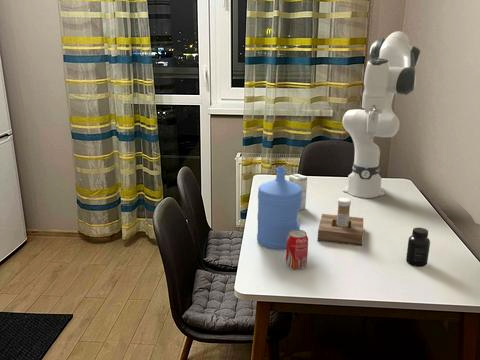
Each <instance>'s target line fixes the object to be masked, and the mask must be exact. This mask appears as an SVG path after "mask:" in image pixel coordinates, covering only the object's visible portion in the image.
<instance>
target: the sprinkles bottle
mask: <svg viewBox="0 0 480 360" xmlns="http://www.w3.org/2000/svg"><path fill="white" fill-rule="evenodd" d="M351 204H352V202H351V199H350V198H348V197H340V198H338V201H337V206H338V207H337V227H342V228H348V224H349V217H350V209H351V208H350V207H351Z"/></svg>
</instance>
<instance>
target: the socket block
mask: <svg viewBox="0 0 480 360" xmlns="http://www.w3.org/2000/svg"><path fill="white" fill-rule="evenodd" d="M337 215H338V214H337ZM337 215H336V214H330V213H329V214H327V213H322V214H321V217H320V221H319V225H318V229H317V240H316V241H317V242H321V243H330V244H331V243H332V244H340V245H349V246H356V247H357V246H358V247H363V239H364V217H359V216H358V217H357V216H349V224H348V228H342V227H337Z"/></svg>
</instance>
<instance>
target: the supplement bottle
mask: <svg viewBox="0 0 480 360" xmlns="http://www.w3.org/2000/svg"><path fill="white" fill-rule="evenodd" d="M407 241H408V243H407V250H406V257H405V260H406V263H407V264H409V266H412V267H416V268H423V267H426V266H427V265H428V261H429V260H428V259H429V255H430V254H429V253H430V248H431V247H430V246H431V240H430V238H429V230H428V229H427V228H424V227H414V228H413V229H412V234H411V235H410V236H409V237H408V240H407Z"/></svg>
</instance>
